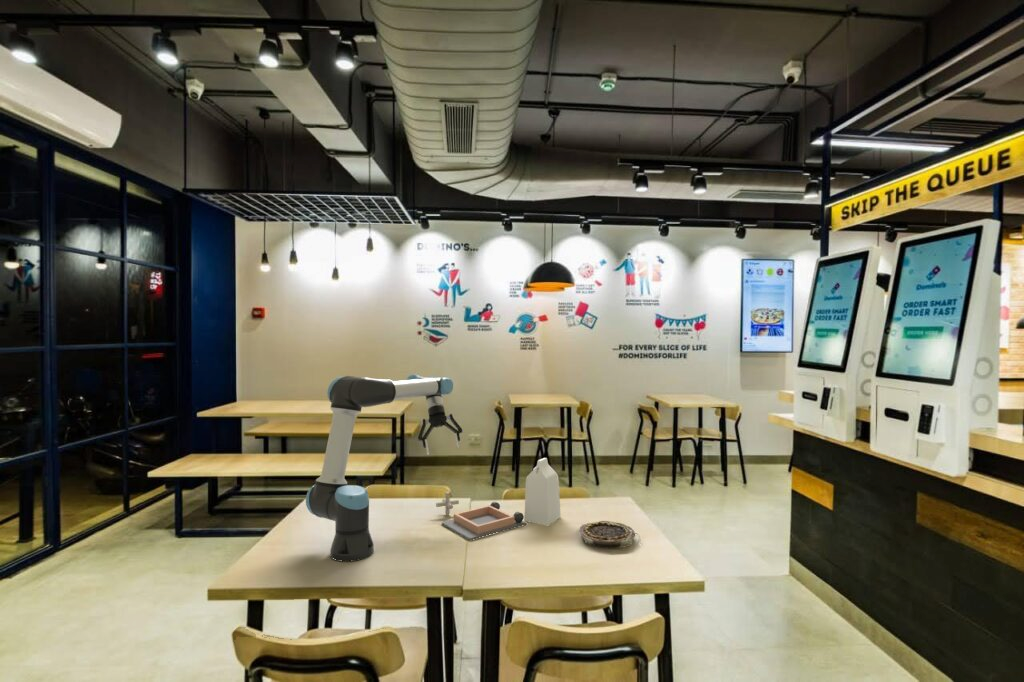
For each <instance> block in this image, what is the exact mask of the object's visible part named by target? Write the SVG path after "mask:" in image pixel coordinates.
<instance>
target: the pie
mask: <svg viewBox="0 0 1024 682" xmlns="http://www.w3.org/2000/svg"><path fill="white" fill-rule="evenodd" d="M578 532H579V534H580V536H581V537H582V538H583V540H584V543H585V544H587V545H591V546H593V547H596V548H601V549H604V548H605V549H622V548H621V547H623V548H625V547H624V546H626V547H631V546H632V545H633V540H634V539H635V537H636V536H637V535H639V533H636V532H635V530H634V529H633V528H632V527H631V526H629V525H627V524H625V523H621V522H617V521H616V522H615V521H609V520H599V521H595V522H588V523H586V524H581V526H580V527H579V530H578ZM635 534H637V535H635ZM640 537H641V536H640V535H639V540H638V541H639V543H640V544H641V545H643V543H642V542H641V538H640ZM630 545H631V546H630ZM641 545H640V546H641Z"/></svg>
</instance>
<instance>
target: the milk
mask: <svg viewBox="0 0 1024 682" xmlns="http://www.w3.org/2000/svg"><path fill="white" fill-rule="evenodd" d="M559 480H560V479H559V475H558V473H557V472H556V471H555V470H554V469H553V467H551V465H550V464H549V462H548V458H547V457H543V458H540V459H538V460H537V463H536V466H535V467H534V468H532V471H530V473H529V474H528V475H527V476H526V478H525V493H524V494H525V495H524V496H525V497H524V514H523V516H524V518H523V521H524V522H527V521H530V522H529V523H531V522H534V523H533V524H536V523H539V524H538V525H541V524H542V525H541V526H546V525H547V526H546V527H549V526H551V523H552V524H554V523H555V522H556V521H558V520H559V519H561V518H562V515H561V514H562V513H561V501H560V499H561V497H560V481H559ZM560 517H561V518H560ZM558 518H559V519H558ZM557 519H558V520H557ZM554 521H555V522H554ZM548 525H549V526H548Z"/></svg>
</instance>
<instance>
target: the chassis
mask: <svg viewBox="0 0 1024 682" xmlns="http://www.w3.org/2000/svg"><path fill="white" fill-rule="evenodd" d="M442 524H443V525H445V526H446V527H445V526H444V527H445V528H447V527H448V528H449V529H448V528H447V529H448V530H450V529H451V531H452V530H453V531H454V532H453V531H452V532H453V533H455V532H456V534H457V533H458V534H457V535H459V536H460V535H461V537H463V538H464V539H465V540H468V541H469V540H472V541H474V540H473V539H475V540H477V539H476V538H479V537H482V536H486V535H489V534H493V533H496V532H500V531H503V530H507V529H510V530H512V529H511V528H514V527H517V528H519V527H518V526H521V527H523V526H522V525H524V526H526V525H527V521H524V514H523V513H522V512H520V511H515V513H514V514H513V515H512V514H510V513H507V512H505V511H504V510H501V505H500V503H499V502H497V501H492V502H491V503H490V505H485V506H481V507H477V508H473V509H468V510H464V511H461V512H455V513H453V519H449V520H446V521H442V522H441V525H442ZM443 525H442V526H443ZM514 529H515V528H514ZM507 531H508V530H507ZM503 532H504V531H503ZM500 533H501V532H500ZM496 534H497V533H496ZM493 535H494V534H493ZM489 536H490V535H489ZM486 537H487V536H486ZM482 538H483V537H482ZM479 539H480V538H479Z"/></svg>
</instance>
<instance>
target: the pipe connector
mask: <svg viewBox="0 0 1024 682" xmlns="http://www.w3.org/2000/svg"><path fill="white" fill-rule="evenodd" d="M444 495H445V498H442V500H441V501H440V502H439V501H438V502H436V503H435V506H436V508H439V507H445V514H446V515H448V516H450V515H449V514H451V513H450V512H451V510H453V508H454V506H453V505H459V504H460V503H459V499H456V500H455V499H453V500H451V499H450V491H446V492H445V493H444ZM446 515H445V516H446Z"/></svg>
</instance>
